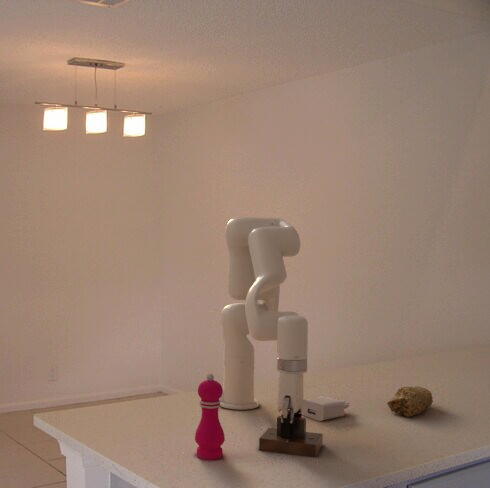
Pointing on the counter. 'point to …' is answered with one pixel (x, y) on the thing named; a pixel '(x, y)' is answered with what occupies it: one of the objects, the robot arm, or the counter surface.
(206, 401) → the pepper mill
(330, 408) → the charger
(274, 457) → the counter surface
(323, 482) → the counter surface
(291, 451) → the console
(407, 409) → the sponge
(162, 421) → the counter surface
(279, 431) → the dark bar red tip
